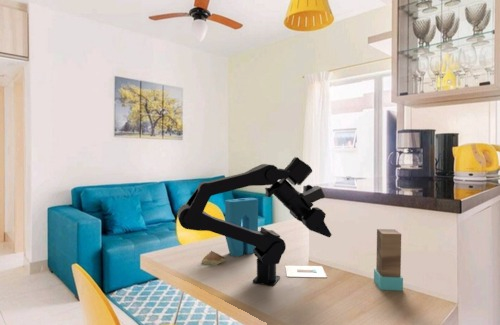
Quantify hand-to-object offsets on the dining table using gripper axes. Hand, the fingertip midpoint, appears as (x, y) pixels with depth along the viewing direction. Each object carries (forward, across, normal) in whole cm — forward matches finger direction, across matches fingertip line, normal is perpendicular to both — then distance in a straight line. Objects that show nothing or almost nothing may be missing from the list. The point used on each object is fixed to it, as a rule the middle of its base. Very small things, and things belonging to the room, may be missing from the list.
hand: (324, 232), depth 97 cm
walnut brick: (+18, -9, -4) cm, 20 cm away
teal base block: (+21, -9, -1) cm, 22 cm away
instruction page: (+6, +4, +13) cm, 15 cm away
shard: (-14, +19, +34) cm, 42 cm away
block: (-6, +25, +26) cm, 36 cm away
